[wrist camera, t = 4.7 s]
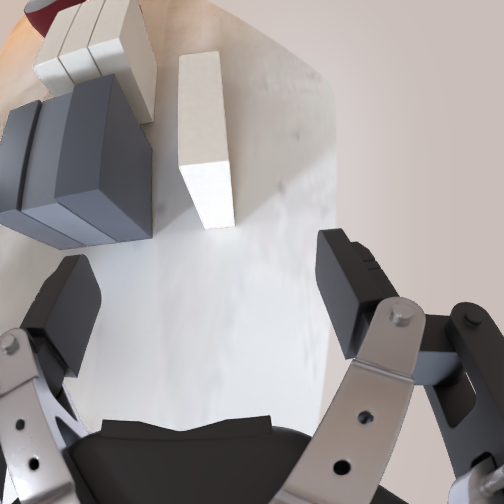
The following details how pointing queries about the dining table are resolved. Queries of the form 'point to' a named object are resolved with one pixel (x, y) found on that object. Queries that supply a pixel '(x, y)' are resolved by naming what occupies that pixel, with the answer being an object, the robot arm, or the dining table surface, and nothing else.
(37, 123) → the grey books
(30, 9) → the mug
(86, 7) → the white books
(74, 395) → the dining table surface
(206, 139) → the white book
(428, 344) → the robot arm
